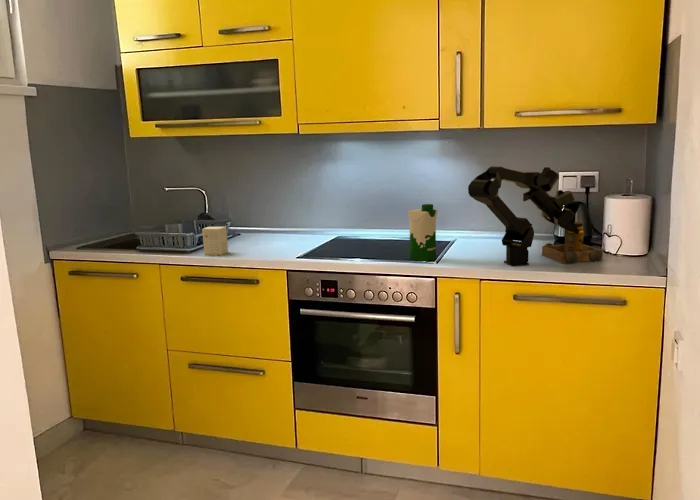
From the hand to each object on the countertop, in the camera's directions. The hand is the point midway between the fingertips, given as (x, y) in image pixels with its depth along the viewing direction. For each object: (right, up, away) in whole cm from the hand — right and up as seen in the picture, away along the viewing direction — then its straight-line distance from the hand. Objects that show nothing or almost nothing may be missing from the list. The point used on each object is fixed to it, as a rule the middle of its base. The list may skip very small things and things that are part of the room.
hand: (573, 230), depth 217 cm
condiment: (0, -9, +2) cm, 9 cm away
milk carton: (-52, -10, +7) cm, 53 cm away
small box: (-131, -8, +31) cm, 135 cm away
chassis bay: (0, -9, +2) cm, 10 cm away
